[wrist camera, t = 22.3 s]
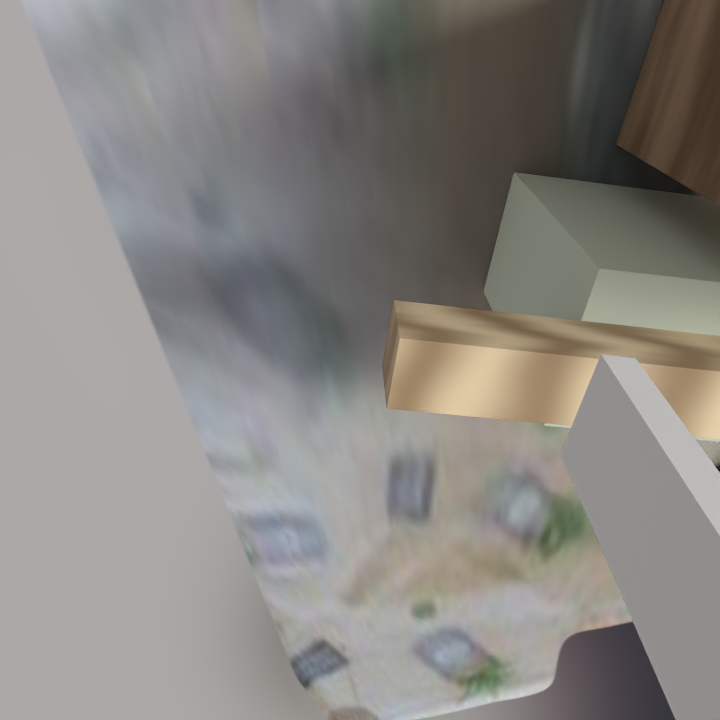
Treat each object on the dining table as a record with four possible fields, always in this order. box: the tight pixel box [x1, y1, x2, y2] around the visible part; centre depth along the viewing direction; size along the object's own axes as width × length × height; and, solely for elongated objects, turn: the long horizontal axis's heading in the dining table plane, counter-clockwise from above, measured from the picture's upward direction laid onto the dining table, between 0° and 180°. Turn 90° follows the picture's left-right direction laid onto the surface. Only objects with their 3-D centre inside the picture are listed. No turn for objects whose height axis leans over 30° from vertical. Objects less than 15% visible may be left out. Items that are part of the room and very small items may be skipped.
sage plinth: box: [483, 172, 720, 442], centre depth 42 cm, size 16×10×18 cm, turn 83°
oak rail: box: [382, 300, 720, 440], centre depth 33 cm, size 28×4×4 cm, turn 83°
